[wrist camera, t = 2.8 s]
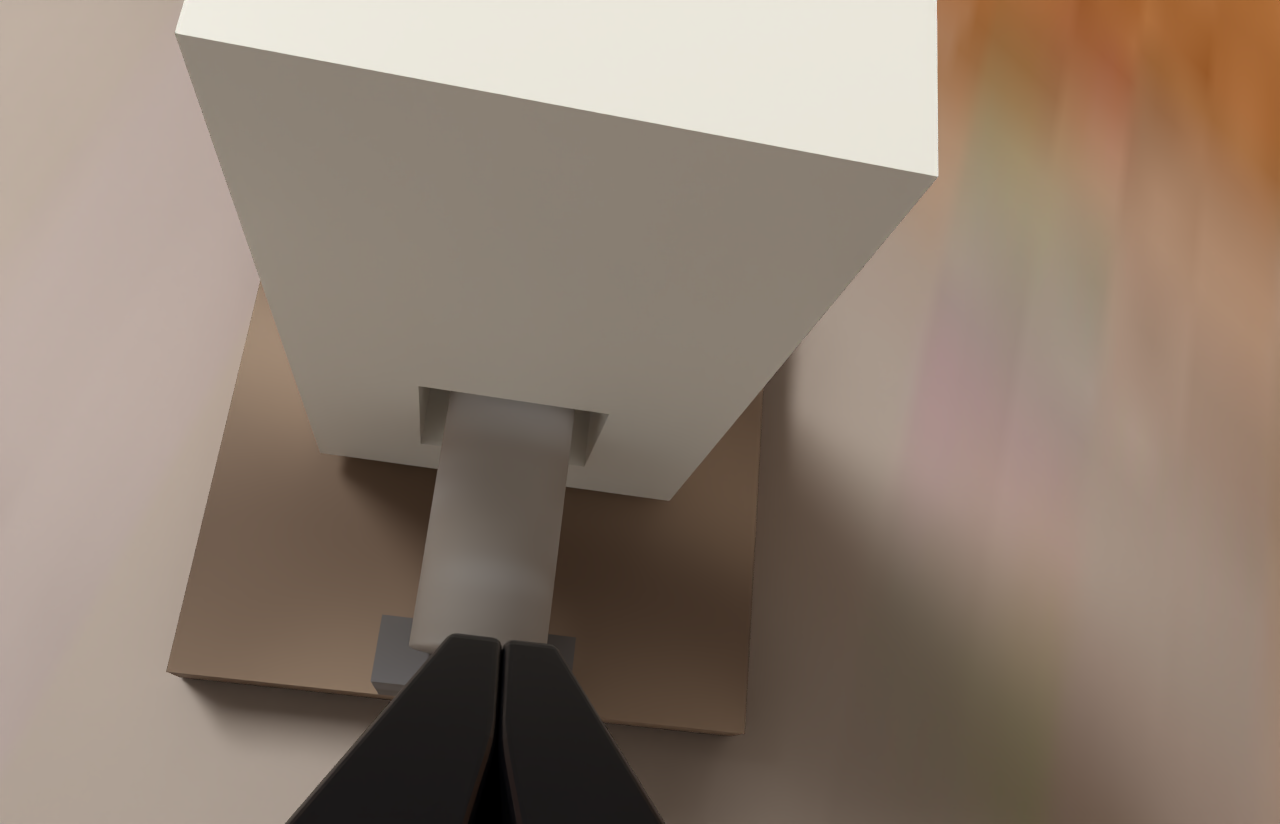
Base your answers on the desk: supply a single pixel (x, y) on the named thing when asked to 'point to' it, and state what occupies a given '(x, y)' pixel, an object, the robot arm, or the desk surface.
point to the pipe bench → (372, 551)
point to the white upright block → (560, 202)
